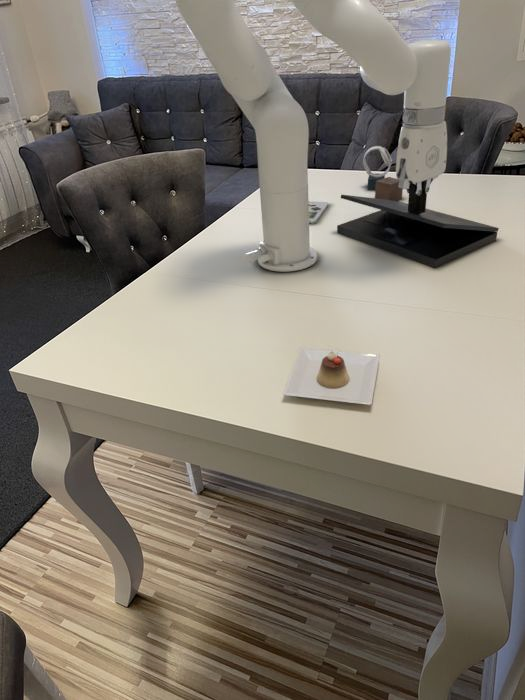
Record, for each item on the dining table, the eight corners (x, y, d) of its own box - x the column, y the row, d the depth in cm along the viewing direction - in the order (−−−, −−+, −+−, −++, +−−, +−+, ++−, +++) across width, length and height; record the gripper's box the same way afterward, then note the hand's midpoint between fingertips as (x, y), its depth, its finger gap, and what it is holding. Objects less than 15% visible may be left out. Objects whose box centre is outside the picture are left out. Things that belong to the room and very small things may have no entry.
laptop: (435, 268, 105) (436, 259, 104) (337, 232, 124) (337, 225, 123) (496, 240, 114) (497, 231, 113) (395, 211, 134) (396, 204, 133)
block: (389, 203, 139) (390, 184, 137) (374, 199, 143) (375, 180, 140) (402, 199, 142) (403, 180, 139) (387, 195, 145) (388, 176, 142)
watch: (390, 190, 149) (392, 149, 143) (361, 190, 151) (362, 149, 145) (391, 184, 153) (393, 144, 147) (363, 184, 155) (364, 144, 149)
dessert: (371, 411, 70) (372, 381, 67) (282, 400, 73) (280, 372, 71) (379, 360, 80) (381, 333, 77) (300, 353, 83) (299, 326, 80)
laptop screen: (442, 228, 101) (444, 223, 101) (340, 198, 121) (341, 194, 120) (497, 232, 113) (498, 228, 113) (396, 204, 133) (397, 200, 132)
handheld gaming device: (329, 201, 142) (315, 220, 130) (329, 204, 142) (315, 223, 130) (297, 200, 144) (280, 219, 133) (297, 203, 145) (280, 222, 133)
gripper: (412, 125, 94) (406, 226, 104) (465, 111, 101) (454, 206, 111) (380, 121, 99) (377, 217, 109) (433, 108, 106) (425, 199, 116)
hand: (416, 211), depth 110 cm, fingers closed
